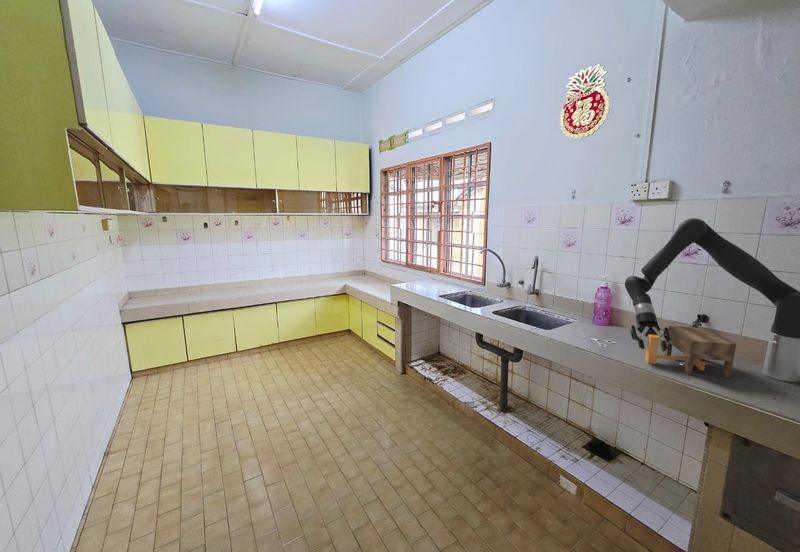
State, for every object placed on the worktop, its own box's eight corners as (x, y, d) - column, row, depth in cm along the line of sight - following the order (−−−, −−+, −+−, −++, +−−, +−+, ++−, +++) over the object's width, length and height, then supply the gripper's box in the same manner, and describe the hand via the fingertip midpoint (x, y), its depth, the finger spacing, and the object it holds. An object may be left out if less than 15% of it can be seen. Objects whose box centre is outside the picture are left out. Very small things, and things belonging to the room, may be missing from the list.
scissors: (607, 347, 157) (569, 334, 174) (607, 349, 157) (568, 336, 174) (620, 343, 162) (581, 330, 179) (620, 344, 162) (581, 332, 179)
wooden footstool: (702, 358, 144) (707, 328, 142) (730, 378, 127) (736, 344, 125) (664, 355, 148) (668, 325, 145) (686, 374, 131) (691, 341, 128)
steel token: (689, 364, 140) (690, 362, 140) (696, 369, 135) (697, 367, 135) (676, 362, 141) (676, 361, 141) (682, 368, 137) (682, 366, 137)
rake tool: (692, 362, 141) (697, 335, 139) (704, 370, 134) (708, 342, 131) (642, 357, 146) (645, 332, 144) (650, 365, 139) (654, 338, 136)
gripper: (629, 310, 147) (637, 344, 138) (667, 312, 143) (678, 347, 134) (624, 318, 153) (631, 351, 144) (660, 320, 149) (669, 354, 140)
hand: (653, 349), depth 139 cm, fingers open, 7 cm apart
